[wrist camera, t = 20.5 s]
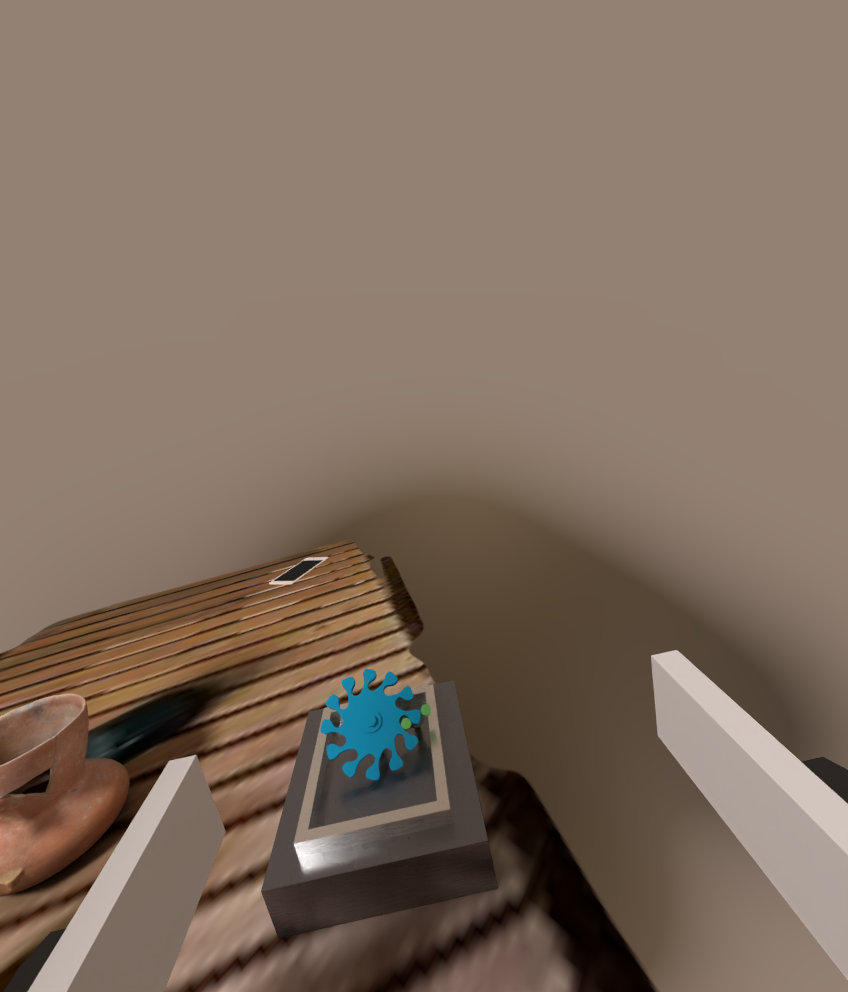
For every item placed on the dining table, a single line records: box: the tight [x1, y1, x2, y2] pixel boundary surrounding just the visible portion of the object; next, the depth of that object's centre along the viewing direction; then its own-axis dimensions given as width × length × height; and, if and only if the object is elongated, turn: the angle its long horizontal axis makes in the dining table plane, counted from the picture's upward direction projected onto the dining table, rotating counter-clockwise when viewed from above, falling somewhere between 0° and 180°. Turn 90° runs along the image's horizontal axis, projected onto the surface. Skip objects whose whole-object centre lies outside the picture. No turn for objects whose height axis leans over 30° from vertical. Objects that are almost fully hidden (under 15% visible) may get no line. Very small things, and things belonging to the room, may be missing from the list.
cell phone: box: [269, 557, 329, 585], centre depth 118 cm, size 8×16×1 cm, turn 157°
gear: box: [320, 669, 431, 780], centre depth 46 cm, size 11×6×10 cm
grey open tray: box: [261, 680, 498, 938], centre depth 45 cm, size 18×20×6 cm
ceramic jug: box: [0, 693, 129, 896], centre depth 48 cm, size 18×14×14 cm
